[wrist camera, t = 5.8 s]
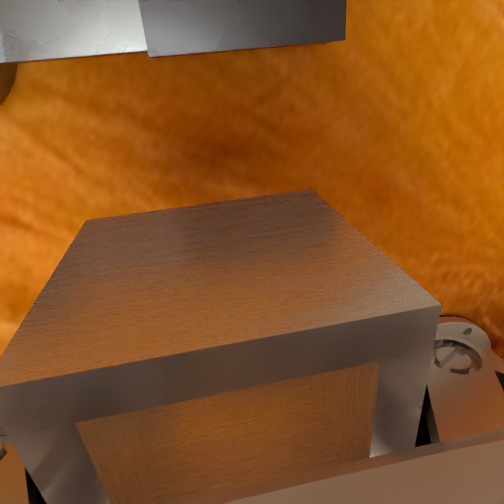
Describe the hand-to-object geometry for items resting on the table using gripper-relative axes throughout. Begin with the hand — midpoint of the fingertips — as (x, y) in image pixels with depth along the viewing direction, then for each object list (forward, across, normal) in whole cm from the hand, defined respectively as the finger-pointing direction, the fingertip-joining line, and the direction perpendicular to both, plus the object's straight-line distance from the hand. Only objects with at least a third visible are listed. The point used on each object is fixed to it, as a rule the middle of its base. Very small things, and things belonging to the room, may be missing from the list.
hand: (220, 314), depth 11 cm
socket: (+1, 0, 0) cm, 1 cm away
